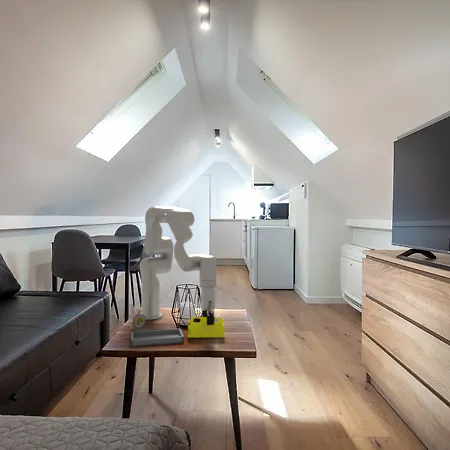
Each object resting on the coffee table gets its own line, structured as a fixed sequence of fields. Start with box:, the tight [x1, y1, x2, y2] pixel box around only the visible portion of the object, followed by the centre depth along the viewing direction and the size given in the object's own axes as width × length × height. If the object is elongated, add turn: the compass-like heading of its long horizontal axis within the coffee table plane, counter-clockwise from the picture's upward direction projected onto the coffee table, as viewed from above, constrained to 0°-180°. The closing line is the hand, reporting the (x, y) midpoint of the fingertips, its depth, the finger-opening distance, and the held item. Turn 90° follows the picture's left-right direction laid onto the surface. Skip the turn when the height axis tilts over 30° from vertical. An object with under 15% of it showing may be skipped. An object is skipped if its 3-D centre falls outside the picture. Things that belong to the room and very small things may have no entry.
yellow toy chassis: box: [187, 316, 226, 339], centre depth 158 cm, size 16×6×8 cm, turn 94°
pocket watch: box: [132, 308, 151, 331], centre depth 164 cm, size 8×8×10 cm
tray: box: [130, 328, 185, 347], centre depth 153 cm, size 12×22×2 cm, turn 105°
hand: (208, 321), depth 158 cm, fingers open, 9 cm apart
